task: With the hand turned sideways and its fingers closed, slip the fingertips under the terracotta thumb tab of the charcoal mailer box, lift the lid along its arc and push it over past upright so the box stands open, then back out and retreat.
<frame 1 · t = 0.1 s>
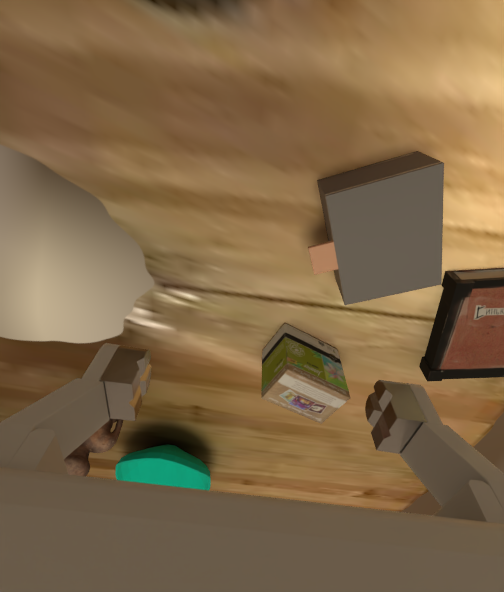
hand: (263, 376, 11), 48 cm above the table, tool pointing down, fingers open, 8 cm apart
mailer box: (371, 222, 58), on the table
clay figurine: (113, 381, 84), on the table
book: (471, 319, 70), on the table
tea box: (299, 347, 75), on the table
table top decor: (170, 451, 101), on the table
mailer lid: (373, 245, 51), point 9 cm above the table, hinge at 0.0°
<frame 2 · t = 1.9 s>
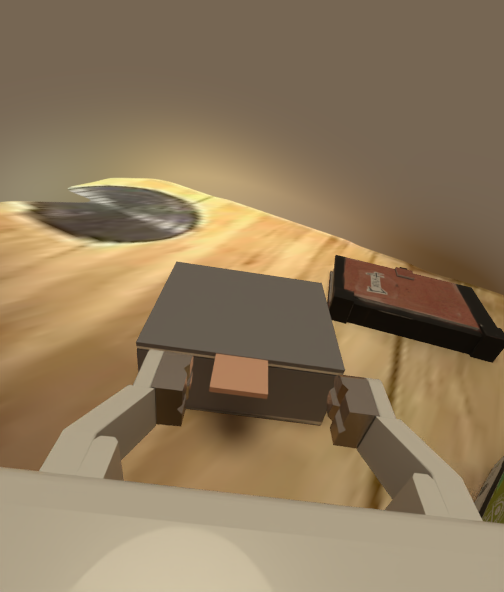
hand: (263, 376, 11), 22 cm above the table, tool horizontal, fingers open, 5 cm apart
mailer box: (237, 361, 42), on the table
book: (397, 312, 59), on the table
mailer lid: (245, 320, 36), point 9 cm above the table, hinge at 0.0°
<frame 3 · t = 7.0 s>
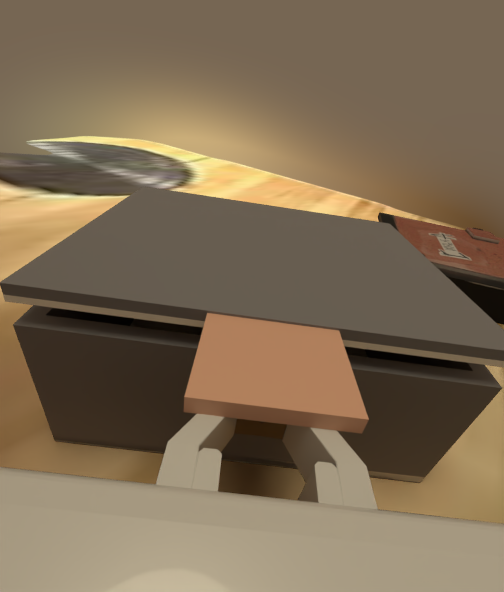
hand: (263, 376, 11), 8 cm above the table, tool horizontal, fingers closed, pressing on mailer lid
mailer box: (249, 357, 24), on the table
book: (477, 290, 40), on the table
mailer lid: (269, 262, 17), point 9 cm above the table, hinge at 3.3°, touching gripper
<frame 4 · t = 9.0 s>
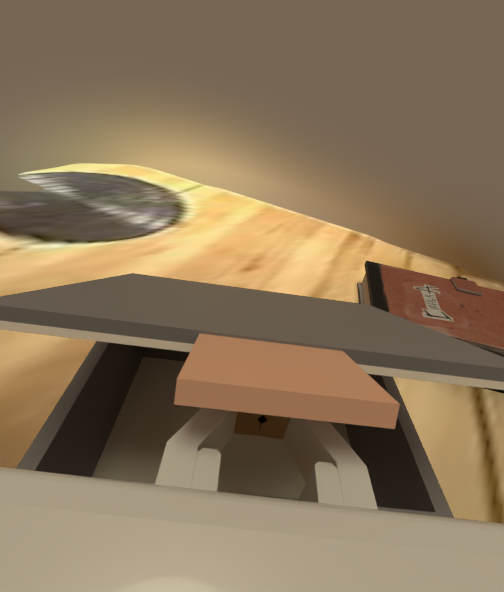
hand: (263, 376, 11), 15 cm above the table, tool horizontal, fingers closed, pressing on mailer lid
mailer box: (234, 442, 25), on the table
book: (460, 343, 41), on the table
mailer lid: (259, 317, 17), point 13 cm above the table, hinge at 27.3°, touching gripper
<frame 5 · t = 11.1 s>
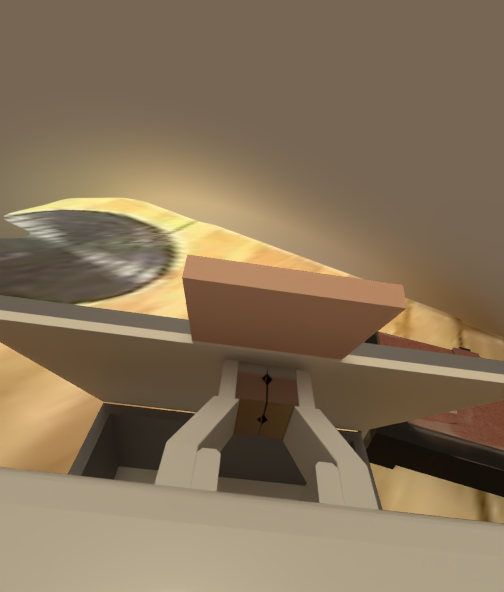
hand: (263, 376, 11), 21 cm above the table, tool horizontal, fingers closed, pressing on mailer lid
mailer box: (213, 587, 22), on the table
book: (464, 426, 38), on the table
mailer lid: (249, 382, 16), point 17 cm above the table, hinge at 61.9°, touching gripper
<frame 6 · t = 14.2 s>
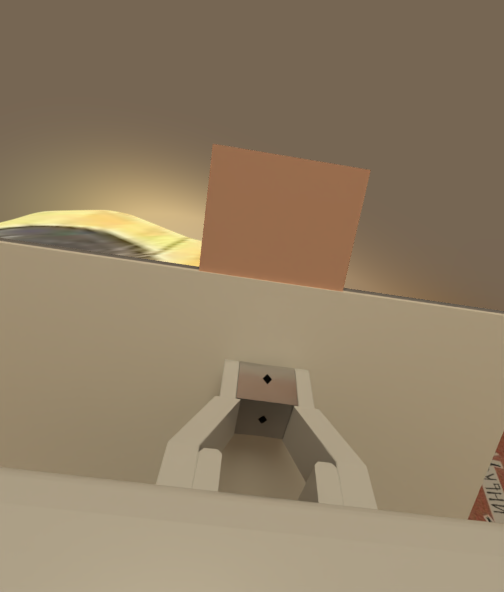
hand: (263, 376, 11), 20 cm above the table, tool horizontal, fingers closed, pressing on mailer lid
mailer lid: (246, 425, 13), point 18 cm above the table, hinge at 108.8°, touching gripper
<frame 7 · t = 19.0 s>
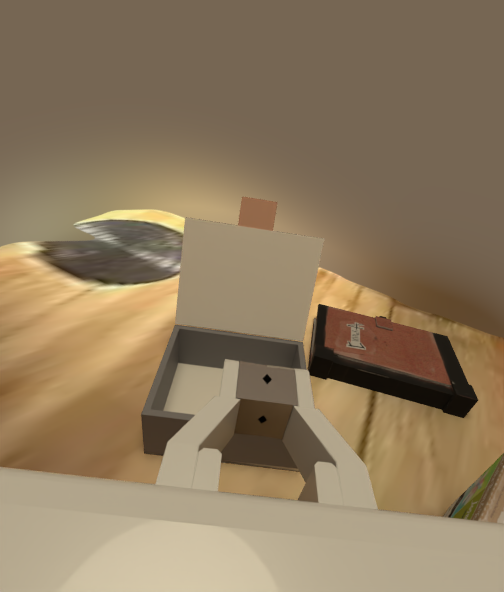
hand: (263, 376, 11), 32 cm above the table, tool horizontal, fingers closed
mailer box: (229, 409, 48), on the table
book: (377, 362, 62), on the table
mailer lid: (249, 269, 47), point 18 cm above the table, hinge at 108.9°
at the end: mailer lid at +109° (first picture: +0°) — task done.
